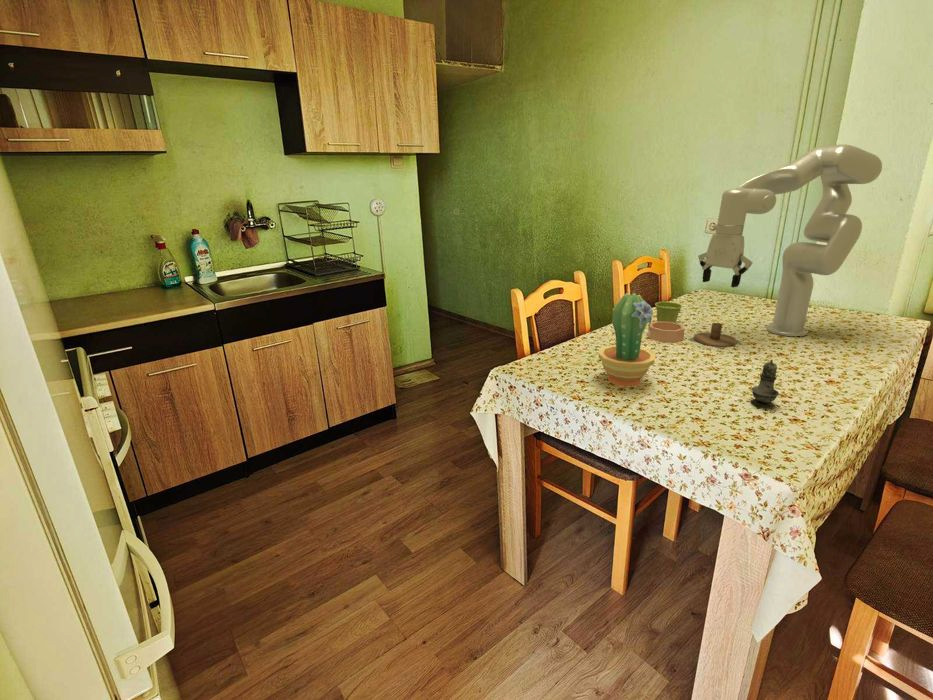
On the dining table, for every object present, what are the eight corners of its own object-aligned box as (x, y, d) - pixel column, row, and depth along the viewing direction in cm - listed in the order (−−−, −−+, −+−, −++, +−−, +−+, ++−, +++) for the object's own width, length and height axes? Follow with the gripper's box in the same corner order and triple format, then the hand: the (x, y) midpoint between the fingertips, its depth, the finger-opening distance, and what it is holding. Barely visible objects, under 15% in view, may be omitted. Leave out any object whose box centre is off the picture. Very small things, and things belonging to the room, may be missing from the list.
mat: (707, 335, 172) (708, 332, 172) (741, 344, 162) (741, 341, 162) (687, 342, 166) (687, 339, 166) (720, 351, 156) (721, 348, 156)
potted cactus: (599, 390, 131) (606, 300, 122) (593, 368, 145) (599, 287, 137) (658, 392, 129) (670, 301, 120) (646, 370, 143) (656, 287, 135)
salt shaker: (744, 399, 124) (752, 355, 120) (765, 398, 124) (775, 354, 120) (758, 410, 118) (768, 364, 114) (781, 408, 119) (791, 363, 115)
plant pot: (674, 323, 186) (677, 301, 183) (682, 331, 178) (685, 308, 175) (649, 323, 187) (652, 301, 184) (656, 330, 178) (659, 308, 175)
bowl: (661, 333, 176) (662, 319, 174) (688, 340, 167) (690, 327, 165) (641, 338, 170) (643, 325, 169) (668, 347, 162) (670, 332, 160)
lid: (707, 332, 172) (710, 316, 170) (744, 341, 162) (747, 325, 160) (685, 339, 166) (687, 323, 164) (721, 349, 155) (724, 332, 153)
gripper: (697, 229, 157) (689, 281, 163) (751, 234, 144) (740, 290, 149) (710, 227, 161) (701, 278, 167) (763, 232, 148) (752, 287, 153)
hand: (719, 284), depth 158 cm, fingers open, 9 cm apart
